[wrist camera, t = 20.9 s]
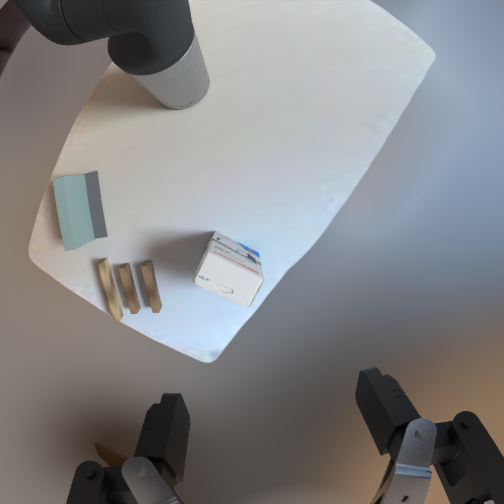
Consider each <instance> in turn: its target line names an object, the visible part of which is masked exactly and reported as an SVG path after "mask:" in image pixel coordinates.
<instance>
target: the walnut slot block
mask: <svg viewBox="0 0 504 504" xmlns="http://www.w3.org/2000/svg"><path fill="white" fill-rule="evenodd" d="M141 268H142V273H143V277H144V281H145V285H146V289H147V293H148V297H149V301H150V305H151V308H152V312H153V313H159V311H160V309H161V307H162V304H161V300H160V296H159V292H158V288H157V283H156V279H155V275H154V270H153V265H152V261H145V262H144V263H143V265H142V266H141ZM119 273H120V277H121V280H122V284H123V288H124V292H125V295H126V299H127V302H128V306H129V309H130V312H131V314H137V313H138V311H139V309H140V308H141V307H140V303H139V300H138V296H137V292H136V289H135V285H134V281H133V277H132V273H131V268H130V264H129V263H128V264H123V265H122V266H121V267H120V268H119Z"/></svg>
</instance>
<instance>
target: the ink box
mask: <svg viewBox="0 0 504 504" xmlns="http://www.w3.org/2000/svg"><path fill="white" fill-rule="evenodd" d="M263 281H264V277H263V272H262V266H261V261H260V256H259V253H258V252H256V251H254V250H252V249H250V248H248V247H246V246H244V245H242V244H240V243H238V242H236V241H234V240H232V239H230V238H228V237H226V236H224V235H222V234H220V233H218V232H216V231H215V233H214V234H213V236H212V237H211V239H210V241H209V243H208V245H207V247H206V249H205V251H204V253H203V256H202V258H201V261H200V263H199V265H198V268H197V270H196V273H195V276H194V278H193V282H194V283H195V284H196V285H198V286H200V287H202V288H204V289H206V290H208V291H211V292H213V293H215V294H217V295H219V296H221V297H224V298H226V299H228V300H230V301H232V302H234V303H237V304H239V305H241V306H247V307H250V305H251V304H252V302H253V300H254V298H255V297H256V295H257V293H258V291H259V289H260V287H261V286H262V284H263Z"/></svg>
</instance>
